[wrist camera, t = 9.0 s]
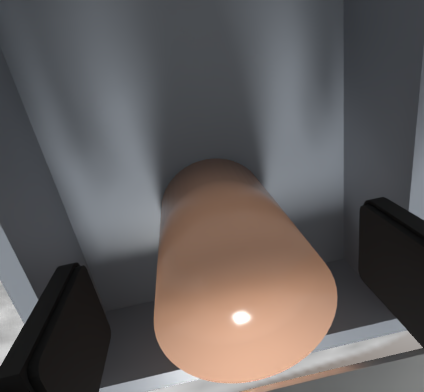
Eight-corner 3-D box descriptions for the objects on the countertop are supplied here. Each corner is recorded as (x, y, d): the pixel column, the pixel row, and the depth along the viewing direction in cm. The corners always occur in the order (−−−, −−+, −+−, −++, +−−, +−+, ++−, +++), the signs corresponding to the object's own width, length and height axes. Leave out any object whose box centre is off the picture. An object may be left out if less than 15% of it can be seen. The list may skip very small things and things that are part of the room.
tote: (351, 261, 18) (415, 328, 13) (97, 317, 17) (71, 409, 12) (357, -236, 10) (514, -493, 5) (-106, -171, 9) (-374, -404, 5)
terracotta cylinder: (149, 170, 14) (130, 260, 7) (259, 148, 14) (336, 216, 7) (173, 263, 16) (176, 399, 9) (269, 243, 16) (337, 361, 9)
